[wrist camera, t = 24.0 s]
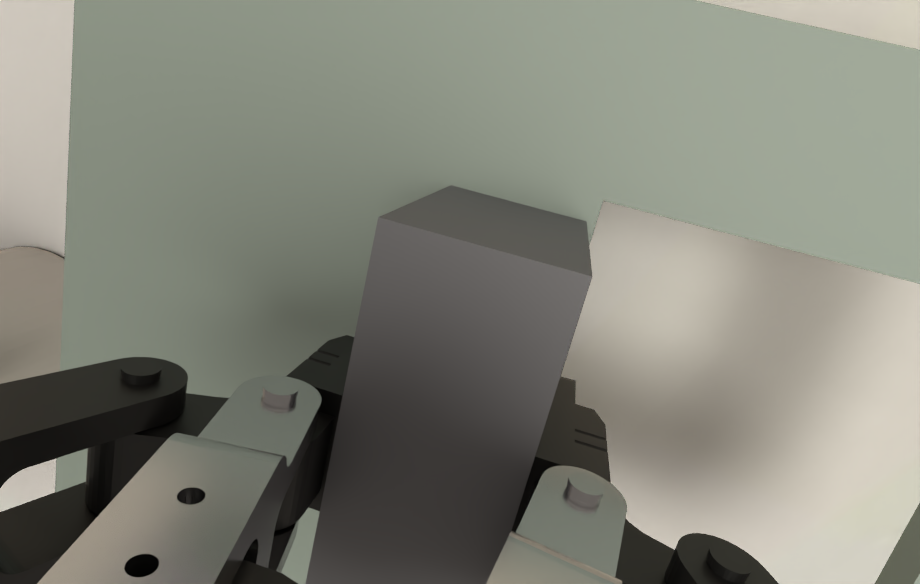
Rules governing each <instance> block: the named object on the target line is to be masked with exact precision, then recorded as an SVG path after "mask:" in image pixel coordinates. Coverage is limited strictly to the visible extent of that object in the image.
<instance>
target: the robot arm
mask: <svg viewBox="0 0 920 584" xmlns="http://www.w3.org/2000/svg"><path fill="white" fill-rule="evenodd" d="M63 282H64V259H63V258H61V257H59V256H57V255H56V254H54V253H52V252H49V251H45V250H42V249H38V248H35V247H20V246H18V247H13V248H8V249H3V250H0V488H1V486H2V485H3V484H4V483H5V482H6V481H7V480H8V479H9V478H10V477H11V476H12V475H14V474H15V473H17V472H18V471H20V470H22V469H25V468H27V467H30V466H33V465H36V464H40V463H43V462H46V461H49V460H52V459H55V458H59V457H62V456H65V455H68V454H71V453H74V452H77V451H81V450H84V449H87V448H88V452H87V470H86V482H83V483H80V484H78V485H75V486H72V487H69V488H67V489H64V490H61V491H58V492H55V493H53V494H50V495H47V496H44V497H41V498H39V499H36V500H33V501H30V502H27V503H25V504H22V505H19V506H16V507H14V508H11V509H8V510H5V511H2V512H0V584H298V583H296V582H295V581H293V580H292V579H290V578H289V577H287V576H286V575H284V574H282V573H281V572H282V570H283V567H284V565H285V562H286V560H287V557H288V555H289V552H290V550H291V547H292V545H293V542H294V540H295V537H296V534H297V529H298V524H299V519H300V518H301V517H302V516H303V514H304V513H305V511H306V510H307V508H311V509H314V510H317V511H320V508H321V503H322V498H323V493H324V488H325V483H326V477H327V472H328V467H329V462H330V457H331V452H332V447H333V442H334V437H335V432H336V427H337V422H338V417H339V412H340V407H341V402H342V397H343V392H344V387H345V382H346V377H347V372H348V367H349V362H350V357H351V352H352V347H353V342H354V337H352V336H349V335H345V336H342V337H338V338H335V339H331V340H328V341H327V342H326V343H325V344H324V345H322V346H321V347H320V348H319V349H318V351H315V352H314V353H313V354H312V355H311V356H309V358H308V359H306V360H305V361H304V362H302V363H301V364H300V365H299V366H298V367H296V368H295V369H294V370H293V371H292V372H291V373H289V374H288V375H287V376H261V377H256V378H252V379H249V380H247V381H245V382H243V383H242V384H241V385H240V386H239V387H238V388H237V389H236V390H235V392H234V393H233V394H232V395H231V397H230V398H223V397H213V396H205V395H197V394H189V393H186V391H187V382H188V375H187V372H186V371H185V370H184V369H183V368H182V367H181V366H179V365H177V364H175V363H173V362H170V361H167V360H163V359H159V358H152V357H128V358H121V359H116V360H111V361H106V362H102V363H97V364H92V365H87V366H83V367H78V368H73V369H68V370H64V371H60V358H61V333H62V307H63ZM626 512H627V505H626V501H625V499H624V497H623V496H622V494H621V493H620V492H619V491H618V490H617V489H616V488H615V487H614V486H613V485H612V484H611V483H610V472H609V461H608V452H607V441H606V429H605V424H604V423H603V421H602V420H601V419H600V417H599V416H598V414H597V413H596V412H595V410H593V409H589V408H586V407H583V406H579V405H576V404H575V381H574V380H571V379H567V378H564V377H561V376H560V379H559V383H558V386H557V389H556V392H555V395H554V398H553V401H552V405H551V408H550V411H549V414H548V417H547V420H546V424H545V427H544V430H543V433H542V436H541V439H540V442H539V446H538V449H537V452H536V455H535V458H534V461H533V464H532V468H531V471H530V474H529V477H528V480H527V483H526V486H525V490H524V493H523V496H522V499H521V502H520V505H519V509H518V512H517V515H516V518H515V521H514V524H513V527H512V531H511V533H510V535H509V536H508V538H507V541H506V543H505V545H504V547H503V549H502V551H501V553H500V555H499V557H498V560H497V562H496V564H495V566H494V568H493V570H492V572H491V574H490V576H489V579H488V581H487V583H486V584H778V583H777V581H776V580H775V579H774V578H773V577H772V576H771V575H770V574H769V572H768V571H767V570H766V569H765V568H764V567H763V566H762V565H761V564H760V563H759V562H758V561H757V560H756V559H754V558H753V557H752V556H751V555H749V554H748V553H747V552H745V551H744V550H742V549H740V548H739V547H737V546H735V545H734V544H732V543H730V542H728V541H725V540H723V539H721V538H718V537H715V536H711V535H707V534H700V533H692V534H687V535H685V536H683V537H682V538H681V539H680V540H679V541H678V544H677V546H676V548H675V550H674V549H672V548H670V547H668V546H666V545H664V544H662V543H660V542H659V541H657V540H655V539H653V538H651V537H649V536H648V535H646V534H644V533H643V532H641V531H640V530H638V529H637V528H636V527H634V526H633V525H632V524H631V523H629V522H628V521H627V520H626V519H625V518H626Z"/></svg>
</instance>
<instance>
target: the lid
mask: <svg viewBox="0 0 920 584" xmlns="http://www.w3.org/2000/svg"><path fill="white" fill-rule="evenodd" d="M603 201H606V202H610V203H613V204H617V205H621V206H625V207H629V208H633V209H636V210H640V211H644V212H648V213H652V214H655V215H659V216H663V217H667V218H671V219H674V220H678V221H682V222H686V223H690V224H694V225H697V226H701V227H705V228H709V229H713V230H716V231H720V232H724V233H728V234H732V235H735V236H739V237H743V238H747V239H751V240H754V241H758V242H762V243H766V244H770V245H774V246H777V247H781V248H785V249H789V250H793V251H796V252H800V253H804V254H808V255H812V256H815V257H819V258H823V259H827V260H831V261H835V262H838V263H842V264H846V265H850V266H854V267H857V268H861V269H865V270H869V271H873V272H876V273H880V274H884V275H888V276H892V277H896V278H899V279H903V280H907V281H911V282H915V283H918V284H920V50H918V49H914V48H909V47H905V46H900V45H896V44H891V43H886V42H882V41H877V40H873V39H868V38H864V37H859V36H855V35H850V34H846V33H841V32H837V31H832V30H827V29H823V28H818V27H814V26H809V25H805V24H800V23H796V22H791V21H787V20H782V19H778V18H773V17H768V16H764V15H759V14H755V13H750V12H746V11H741V10H737V9H732V8H728V7H723V6H719V5H714V4H710V3H705V2H700V1H696V0H75V3H74V28H73V53H72V79H71V104H70V130H69V155H68V180H67V206H66V231H65V257H64V282H63V307H62V333H61V358H60V371H64V370H68V369H73V368H78V367H83V366H87V365H92V364H97V363H102V362H106V361H111V360H116V359H121V358H128V357H152V358H159V359H163V360H167V361H170V362H173V363H175V364H177V365H179V366H181V367H182V368H183V369H184V370H185V371H186V372H187V375H188V382H187V391H186V393H189V394H197V395H205V396H213V397H223V398H230V397H231V395H232V394H233V393H234V392H235V390H236V389H237V388H238V387H239V386H240V385H241V384H242V383H243V382H245V381H247V380H249V379H252V378H256V377H261V376H287V375H288V374H289V373H291V372H292V371H293V370H294V369H295V368H296V367H298V366H299V365H300V364H301V363H302V362H304V361H305V360H306V359H308V358H309V356H311V355H312V354H313V353H314V352H315V351H318V349H319V348H320V347H321V346H322V345H324V344H325V343H326V342H327V341H328V340H331V339H335V338H338V337H342V336H345V335H349V336H352V337H354V342H353V347H352V352H351V357H350V362H349V367H348V372H347V377H346V382H345V387H344V392H343V397H342V402H341V407H340V412H339V417H338V422H337V427H336V432H335V437H334V442H333V447H332V452H331V457H330V462H329V467H328V472H327V477H326V483H325V488H324V493H323V498H322V503H321V508H320V511H317V510H314V509H311V508H307V510H306V511H305V513H304V514H303V516H302V517H301V518H300V519H299V524H298V529H297V534H296V537H295V540H294V542H293V545H292V547H291V550H290V552H289V555H288V557H287V560H286V562H285V565H284V567H283V570H282V572H281V573H282V574H284V575H286V576H287V577H289V578H290V579H292V580H293V581H295V582H296V583H298V584H486V583H487V581H488V579H489V576H490V574H491V572H492V570H493V568H494V566H495V564H496V562H497V560H498V557H499V555H500V553H501V551H502V549H503V547H504V545H505V543H506V541H507V538H508V536H509V535H510V533H511V531H512V527H513V524H514V521H515V518H516V515H517V512H518V509H519V505H520V502H521V499H522V496H523V493H524V490H525V486H526V483H527V480H528V477H529V474H530V471H531V468H532V464H533V461H534V458H535V455H536V452H537V449H538V446H539V442H540V439H541V436H542V433H543V430H544V427H545V424H546V420H547V417H548V414H549V411H550V408H551V405H552V401H553V398H554V395H555V392H556V389H557V386H558V383H559V379H560V376H561V373H562V370H563V367H564V364H565V361H566V357H567V354H568V351H569V348H570V345H571V342H572V338H573V335H574V332H575V329H576V326H577V323H578V320H579V316H580V313H581V310H582V307H583V304H584V301H585V298H586V294H587V291H588V288H589V285H590V282H591V279H592V270H591V260H590V250H589V245H590V241H591V238H592V235H593V232H594V229H595V225H596V222H597V219H598V216H599V213H600V209H601V206H602V203H603ZM87 452H88V448H87V449H84V450H81V451H77V452H74V453H71V454H68V455H65V456H62V457H59V458H57V460H56V485H55V492H58V491H61V490H64V489H67V488H69V487H72V486H75V485H78V484H80V483H83V482H86V470H87ZM875 584H920V503H919V505H918V507H917V509H916V510H915V512H914V514H913V516H912V518H911V519H910V521H909V523H908V525H907V527H906V528H905V530H904V532H903V534H902V536H901V537H900V539H899V541H898V543H897V545H896V546H895V548H894V550H893V552H892V554H891V555H890V557H889V559H888V561H887V563H886V564H885V566H884V568H883V570H882V572H881V573H880V575H879V577H878V579H877V581H876V582H875Z"/></svg>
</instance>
